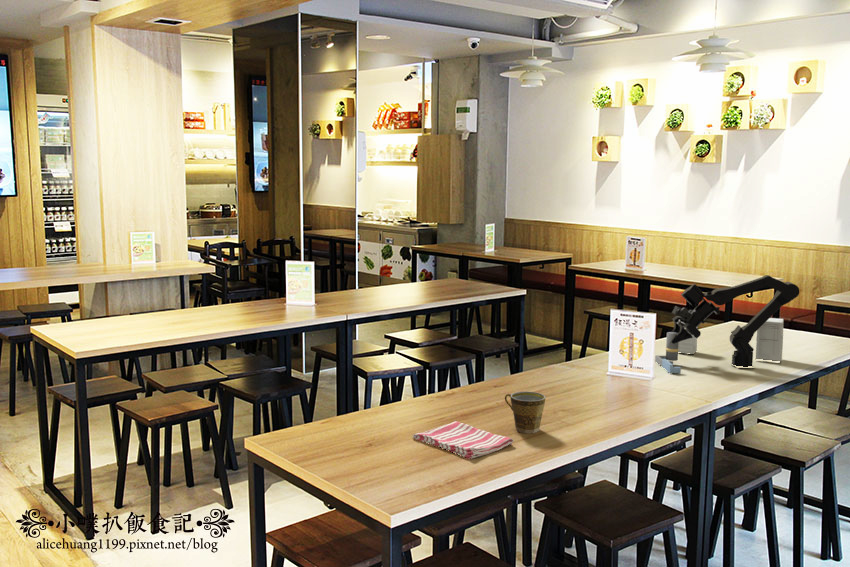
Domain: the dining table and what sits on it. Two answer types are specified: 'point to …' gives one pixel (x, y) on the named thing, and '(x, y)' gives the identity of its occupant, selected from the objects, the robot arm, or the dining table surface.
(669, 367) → the duct rail
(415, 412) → the dining table surface
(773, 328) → the supplement box
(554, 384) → the dining table surface
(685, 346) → the supplement box
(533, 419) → the ceramic cup
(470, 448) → the dish towel
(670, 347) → the gray banded cylinder
